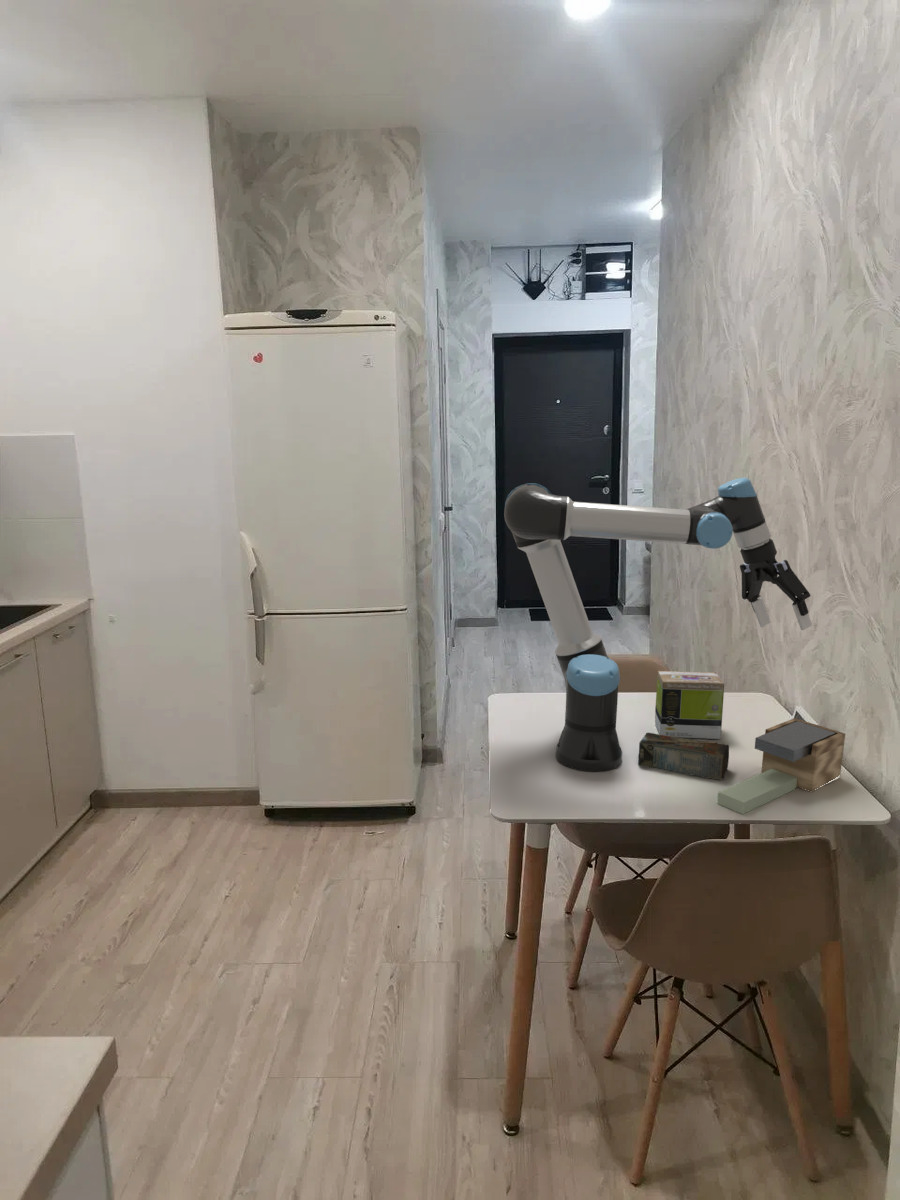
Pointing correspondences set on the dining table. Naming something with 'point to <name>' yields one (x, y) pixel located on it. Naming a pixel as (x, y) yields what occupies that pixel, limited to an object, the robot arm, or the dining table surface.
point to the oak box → (810, 760)
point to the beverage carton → (684, 756)
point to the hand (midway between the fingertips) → (785, 626)
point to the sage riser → (757, 791)
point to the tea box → (689, 704)
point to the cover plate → (792, 740)
